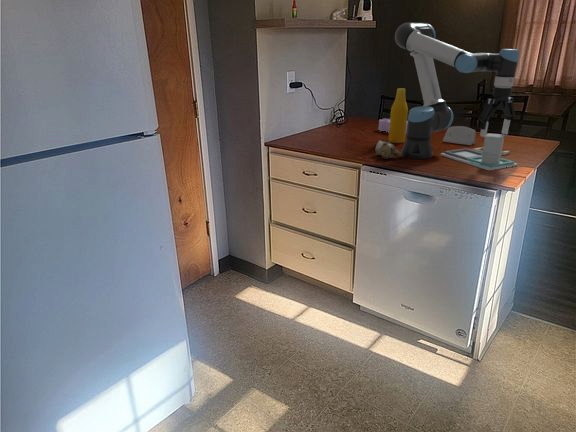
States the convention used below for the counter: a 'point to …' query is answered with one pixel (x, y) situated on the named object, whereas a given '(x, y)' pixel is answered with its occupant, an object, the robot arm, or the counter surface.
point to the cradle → (482, 151)
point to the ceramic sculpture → (387, 150)
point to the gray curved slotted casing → (460, 135)
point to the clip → (386, 125)
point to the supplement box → (492, 148)
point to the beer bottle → (398, 118)
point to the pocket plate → (476, 159)
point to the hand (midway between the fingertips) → (493, 135)
